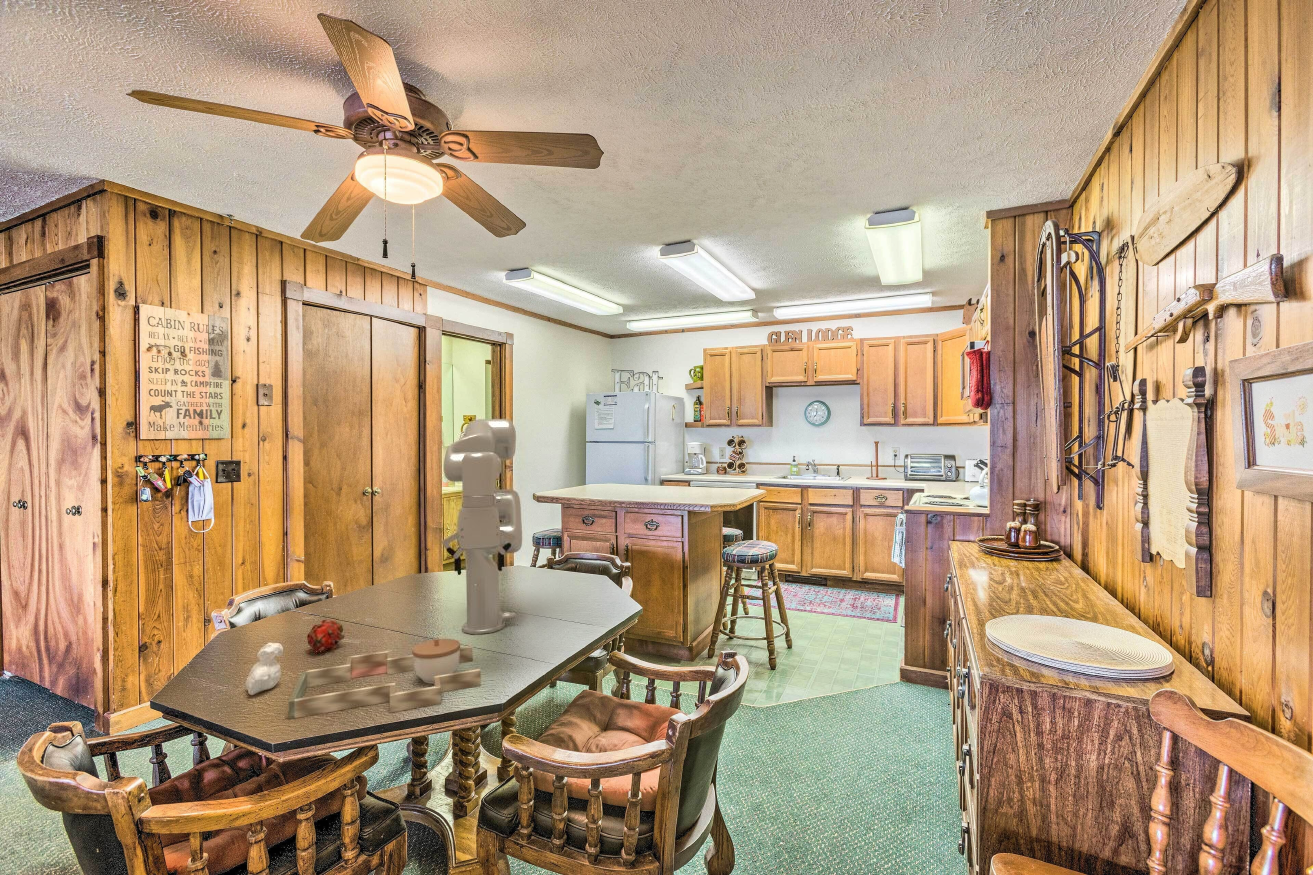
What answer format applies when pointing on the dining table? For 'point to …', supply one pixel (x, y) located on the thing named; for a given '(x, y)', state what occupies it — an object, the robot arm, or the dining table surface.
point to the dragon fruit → (325, 635)
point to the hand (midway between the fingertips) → (479, 572)
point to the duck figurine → (265, 669)
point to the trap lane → (375, 694)
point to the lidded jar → (436, 658)
